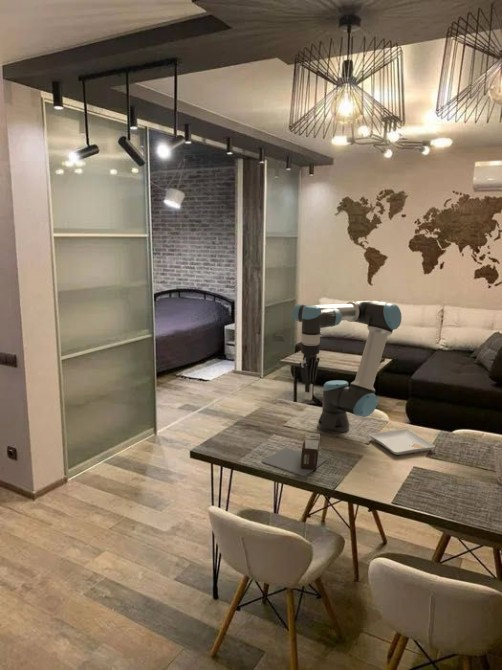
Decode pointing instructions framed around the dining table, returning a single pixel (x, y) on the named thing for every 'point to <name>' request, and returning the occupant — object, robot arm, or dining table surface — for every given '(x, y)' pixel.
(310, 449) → the coffee box
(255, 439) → the dining table surface
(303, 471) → the mat
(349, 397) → the robot arm
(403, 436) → the salad plate
